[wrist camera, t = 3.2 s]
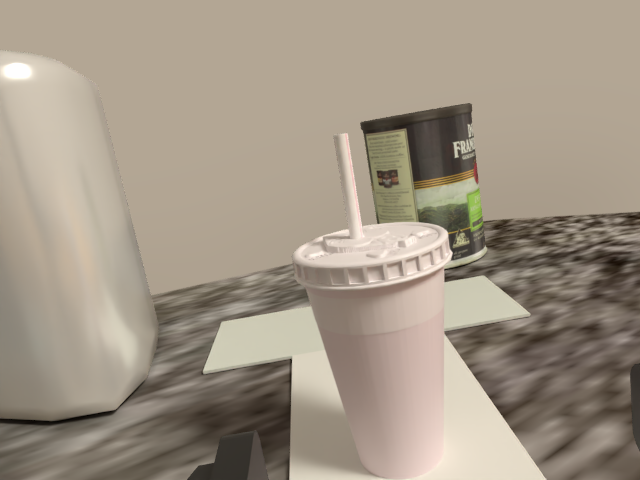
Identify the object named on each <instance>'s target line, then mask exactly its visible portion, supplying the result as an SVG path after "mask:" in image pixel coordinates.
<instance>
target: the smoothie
mask: <svg viewBox="0 0 640 480" xmlns="http://www.w3.org/2000/svg"><path fill="white" fill-rule="evenodd" d="M334 142H335V148H336V154H337V161H338V166H339V173H340V179H341V185H342V191H343V197H344V203H345V210H346V216H347V222H348V228H349V229H346V230H342V231H338V232H334V233H330V234H327V235H324V236H321V237H318V238H316V239H313V240H311V241H309V242H307V243H305V244H303V245H301V246H300V247H299V248H297V250H295V252H294V253H293V255H292V259H293V265H294V270H295V275H294V278H295V279H296V281H297V283H299V284H301V285H303V286H305V288H306V291H307V294H308V297H309V301H310V304H311V307H312V311H313V314H314V317H315V321H316V323H317V326H318V329H319V332H320V335H321V338H322V342H323V345H324V348H325V351H326V354H327V357H328V360H329V363H330V367H331V370H332V373H333V376H334V379H335V382H336V385H337V389H338V392H339V395H340V398H341V401H342V404H343V407H344V411H345V414H346V417H347V420H348V423H349V426H350V429H351V432H352V436H353V439H354V442H355V445H356V448H357V451H358V454H359V458H360V461H361V463H362V465H363V466H364V468H365V469H366V470H368V471H369V472H370V473H372V474H374V475H376V476H379V477H382V478H387V479H397V480H399V479H409V478H414V477H418V476H420V475H423V474H425V473H427V472H429V471H431V470H432V469H433V468H435V467H436V466H437V465H438V464H439V462H440V461H441V459H442V457H443V452H444V303H445V300H444V266H445V265H446V264H447V263H448V262H449V261H451V257H452V254H453V253H452V251H451V250H450V247H449V238H448V232H447V231H446V230H445V229H444V228H442V227H440V226H438V225H434V224H429V223H420V222H394V223H382V224H374V225H367V226H362V223H361V217H360V211H359V204H358V198H357V192H356V185H355V179H354V173H353V166H352V160H351V154H350V147H349V141H348V134H347V133H343V134H337V135H334Z"/></svg>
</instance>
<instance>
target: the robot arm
mask: <svg viewBox="0 0 640 480" xmlns="http://www.w3.org/2000/svg"><path fill="white" fill-rule="evenodd" d="M630 381H631V402H632V423H633V434H634V438H635V441H636V444H637V446H638V449H639V450H640V363H639V364H635V365H634V366H633V367H632V369H631V373H630ZM187 480H269V479H268V474H267V470H266V465H265V461H264V456H263V452H262V447H261V443H260V438H259V435H258V433H257V431H250V432H244V433H239V434H233V435H227V436H222V437H221V439H220V442H219V446H218V450H217V455H216V459H215V463H211V464H206V465H200V466H198V467H197V468H196V469H195V471H194V472H193V473H192V474H191V476H190V477H189V478H188V479H187Z"/></svg>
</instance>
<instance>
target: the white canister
mask: <svg viewBox="0 0 640 480" xmlns="http://www.w3.org/2000/svg"><path fill="white" fill-rule="evenodd" d="M158 335H159V325H158V321H157V317H156V313H155V309H154V306H153V302H152V298H151V294H150V290H149V286H148V282H147V278H146V274H145V270H144V266H143V263H142V258H141V254H140V250H139V246H138V243H137V239H136V235H135V231H134V227H133V223H132V219H131V215H130V211H129V207H128V203H127V200H126V195H125V191H124V187H123V184H122V180H121V176H120V172H119V168H118V164H117V160H116V156H115V152H114V148H113V144H112V140H111V136H110V132H109V128H108V124H107V120H106V117H105V113H104V109H103V105H102V101H101V97H100V93H99V90H98V86H97V84H95V83H94V82H92V81H90V80H89V79H88V78H86V77H85V76H83V75H81V74H80V73H78V72H77V71H75V70H74V69H72V68H70V67H68V66H67V65H65V64H63V63H61V62H59V61H58V60H55V59H52V58H48V57H44V56H41V55H37V54H32V53H24V52H14V51H6V50H0V418H4V419H25V420H45V421H59V420H64V419H69V418H74V417H80V416H85V415H90V414H95V413H100V412H105V411H111V410H116V409H117V408H118V407H119V406H120V405H121V403H122V402H123V401H124V400H125V399H126V398H127V397H128V396H129V395H130V394H131V393H132V392H133V391H134V390H135V389H136V388H137V387H138V386H139V385H140V384H141V383H142V382H143V381H144V380H145V379H146V378H147V377H148V373H149V370H150V367H151V364H152V361H153V357H154V354H155V351H156V348H157V342H158Z"/></svg>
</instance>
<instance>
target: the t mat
mask: <svg viewBox="0 0 640 480" xmlns="http://www.w3.org/2000/svg"><path fill="white" fill-rule="evenodd" d="M444 300H445V303H444V331H450V330H456V329H461V328H467V327H472V326H478V325H484V324H489V323H495V322H501V321H506V320H512V319H517V318H523V317H529V316H530V313H529V312H528V311H527V310H525V309H524V308H523V307H522V306H520V305H519V304H518V303H517V302H516V301H514V300H513V299H512V298H511V297H509V296H508V295H507V294H506V293H504V292H503V291H502V290H501V289H500V288H498V287H497V286H496V285H495V284H493V283H492V282H491V281H490V280H489V279H487V278H486V277H485V276H478V277H473V278H467V279H462V280H456V281H450V282H445V283H444ZM287 359H292V389H291V433H290V477H289V480H397V479H387V478H382V477H379V476H376V475H374V474H372V473H370V472H369V471H368V470H366V469H365V468H364V466H363V465H362V463H361V461H360V458H359V454H358V451H357V448H356V445H355V442H354V439H353V436H352V432H351V429H350V426H349V423H348V420H347V417H346V414H345V411H344V407H343V404H342V401H341V398H340V395H339V392H338V389H337V385H336V382H335V379H334V376H333V373H332V370H331V367H330V363H329V360H328V357H327V354H326V351H325V348H324V345H323V342H322V338H321V335H320V332H319V329H318V326H317V323H316V321H315V317H314V314H313V311H312V307H311V306H309V307H304V308H298V309H292V310H287V311H281V312H275V313H270V314H264V315H258V316H253V317H247V318H242V319H236V320H230V321H225V322H222V323H221V325H220V328H219V331H218V333H217V336H216V338H215V341H214V344H213V346H212V349H211V351H210V354H209V357H208V359H207V362H206V365H205V367H204V370H203V374H208V373H213V372H219V371H225V370H230V369H236V368H242V367H247V366H253V365H258V364H264V363H270V362H275V361H281V360H287ZM399 480H546V479H545V477H544V476H543V474H542V473H541V471H540V470H539V469H538V467H537V466H536V464H535V463H534V461H533V460H532V459H531V457H530V456H529V454H528V453H527V451H526V450H525V449H524V447H523V446H522V444H521V443H520V441H519V440H518V439H517V437H516V436H515V434H514V433H513V431H512V430H511V429H510V427H509V426H508V424H507V423H506V421H505V420H504V419H503V417H502V416H501V414H500V413H499V411H498V410H497V409H496V407H495V406H494V404H493V403H492V401H491V400H490V399H489V397H488V396H487V394H486V393H485V391H484V390H483V389H482V387H481V386H480V384H479V383H478V381H477V380H476V379H475V377H474V376H473V374H472V373H471V371H470V370H469V369H468V367H467V366H466V364H465V363H464V361H463V360H462V358H461V357H460V356H459V354H458V353H457V351H456V350H455V348H454V347H453V346H452V344H451V343H450V341H449V340H448V338H447V337H446V336H445V334H444V452H443V457H442V459H441V461H440V462H439V464H438V465H437V466H436V467H435V468H433V469H432V470H431V471H429V472H427V473H425V474H423V475H420V476H418V477H414V478H409V479H399Z"/></svg>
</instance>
